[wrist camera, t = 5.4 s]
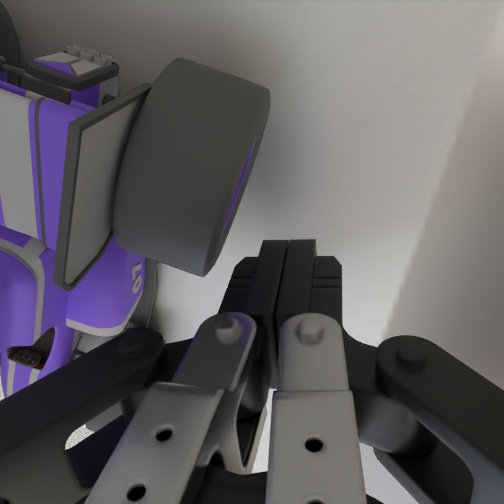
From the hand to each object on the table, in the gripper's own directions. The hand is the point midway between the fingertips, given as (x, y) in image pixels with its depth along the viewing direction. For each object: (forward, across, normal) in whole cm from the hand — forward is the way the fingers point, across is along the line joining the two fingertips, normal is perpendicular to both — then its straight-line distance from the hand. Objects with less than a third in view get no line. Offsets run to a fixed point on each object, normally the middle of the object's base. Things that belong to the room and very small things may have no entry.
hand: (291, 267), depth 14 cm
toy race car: (+2, +7, 0) cm, 8 cm away
